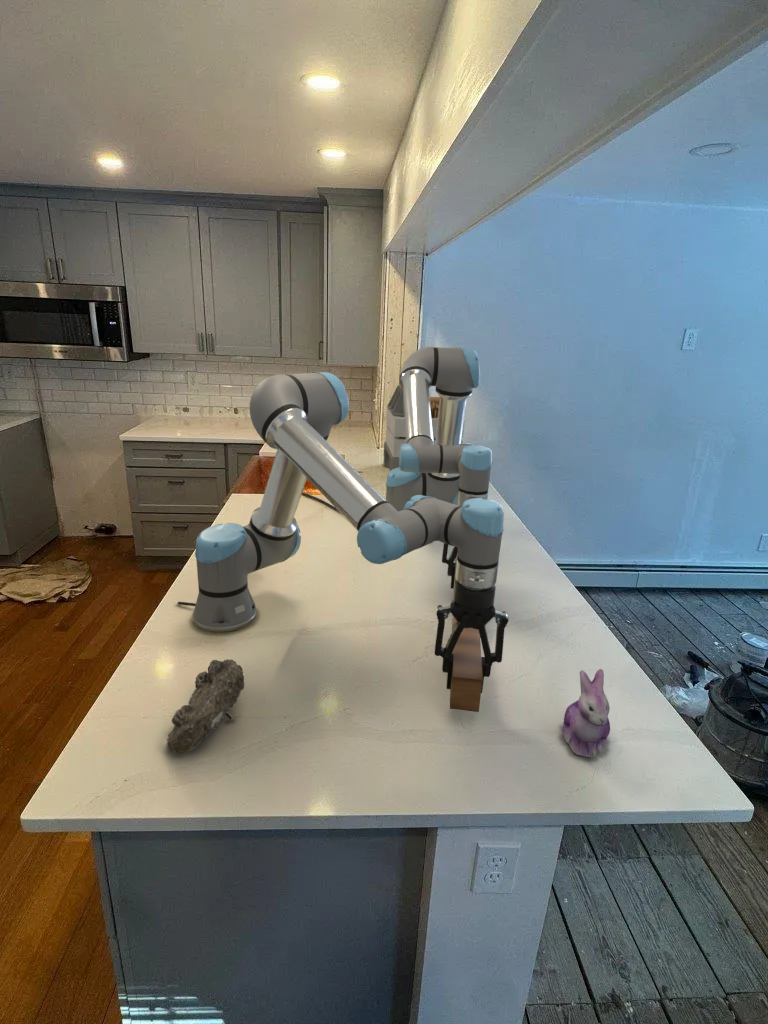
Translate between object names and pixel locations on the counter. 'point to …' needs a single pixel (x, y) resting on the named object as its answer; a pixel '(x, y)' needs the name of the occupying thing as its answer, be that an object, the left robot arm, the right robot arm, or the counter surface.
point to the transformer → (402, 427)
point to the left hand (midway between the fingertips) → (464, 686)
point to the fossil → (206, 705)
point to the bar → (466, 669)
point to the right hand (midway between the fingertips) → (463, 587)
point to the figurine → (588, 717)
